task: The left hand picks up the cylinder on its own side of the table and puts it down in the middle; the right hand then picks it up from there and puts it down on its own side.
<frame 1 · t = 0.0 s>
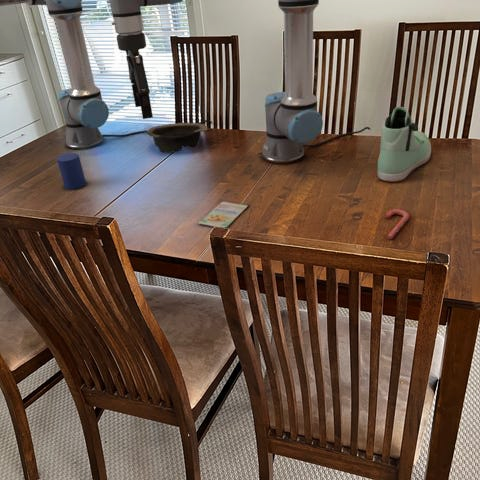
right hand: (143, 111, 139), 28 cm above the table, tool pointing down, fingers open, 13 cm apart
stone bowl: (178, 145, 194), on the table
baking ingredient package: (223, 215, 141), on the table
candy cane: (394, 226, 129), on the table
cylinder: (75, 185, 167), on the table
sneaker: (403, 163, 164), on the table
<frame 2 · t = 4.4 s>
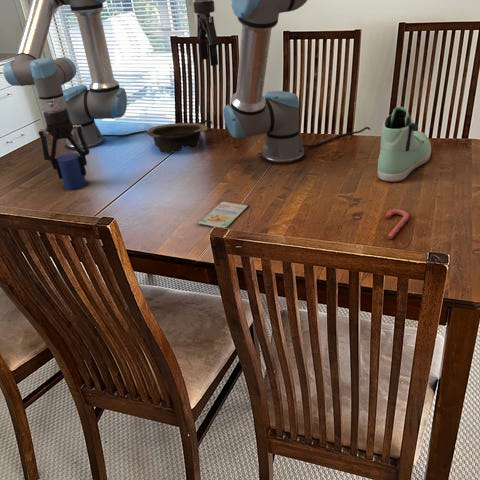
left hand: (73, 175, 165), 4 cm above the table, tool pointing down, fingers closed on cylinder, 7 cm apart
right hand: (209, 62, 184), 30 cm above the table, tool pointing down, fingers open, 13 cm apart
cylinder: (75, 185, 167), on the table, touching left hand
everything else where it was.
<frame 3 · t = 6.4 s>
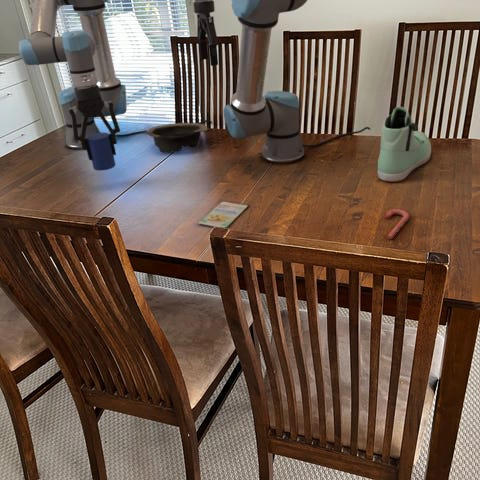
left hand: (102, 156, 159), 11 cm above the table, tool pointing down, fingers closed on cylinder, 7 cm apart
right hand: (209, 62, 184), 30 cm above the table, tool pointing down, fingers open, 13 cm apart
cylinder: (104, 166, 161), point 7 cm above the table, touching left hand
everything else where it was.
when the left hand's fingers open (5 cm above the table, at t = 8.4 s): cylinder drops 1 cm, on the table.
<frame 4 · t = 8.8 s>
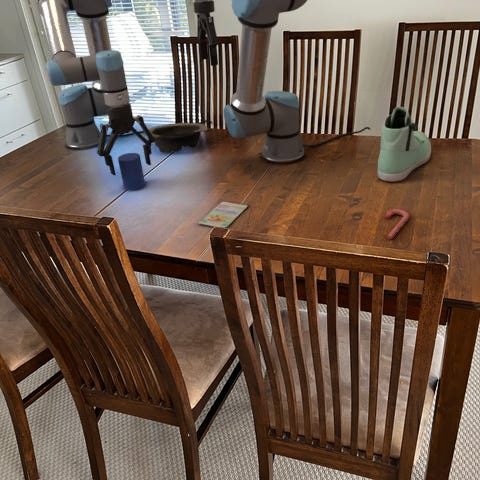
left hand: (131, 169, 160), 6 cm above the table, tool pointing down, fingers open, 12 cm apart
right hand: (209, 62, 184), 30 cm above the table, tool pointing down, fingers open, 13 cm apart
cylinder: (134, 186, 163), on the table
everything else where it was.
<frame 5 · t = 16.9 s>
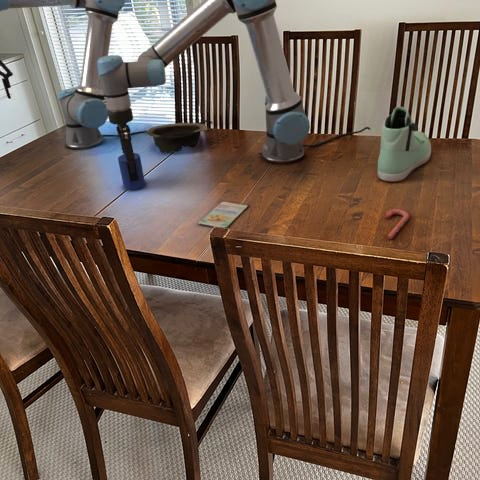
right hand: (132, 176, 161), 4 cm above the table, tool pointing down, fingers closed on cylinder, 7 cm apart
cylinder: (134, 186, 163), on the table, touching right hand
everything else where it was.
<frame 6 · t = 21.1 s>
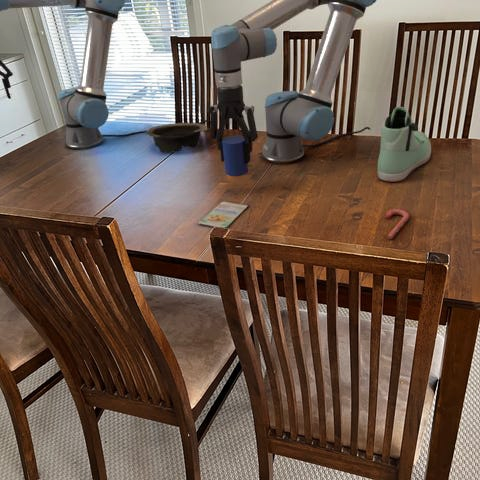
right hand: (235, 160, 149), 10 cm above the table, tool pointing down, fingers closed on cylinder, 7 cm apart
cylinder: (236, 171, 151), point 7 cm above the table, touching right hand
everything else where it was.
when the right hand's fingers open (5 cm above the table, at t = 25.6 s): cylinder drops 1 cm, on the table.
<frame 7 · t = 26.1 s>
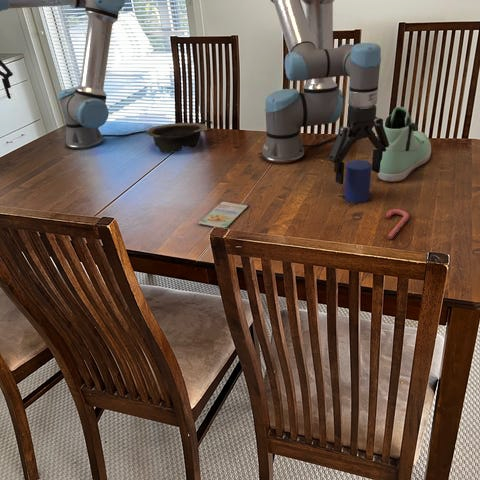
right hand: (357, 177, 141), 7 cm above the table, tool pointing down, fingers open, 13 cm apart
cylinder: (356, 197, 145), on the table
everything else where it was.
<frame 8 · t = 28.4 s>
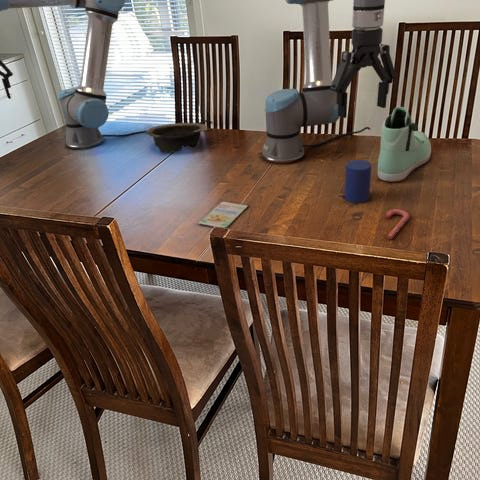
right hand: (362, 111, 131), 26 cm above the table, tool pointing down, fingers open, 13 cm apart
nothing on the table moved.
at the end: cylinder inside the target area (0.0 cm from its centre), on the table; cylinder tilted 0°; the two hands never held the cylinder at the same time; the left hand is holding nothing; the right hand is holding nothing; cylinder at rest at the end (0.0 cm/s) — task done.
